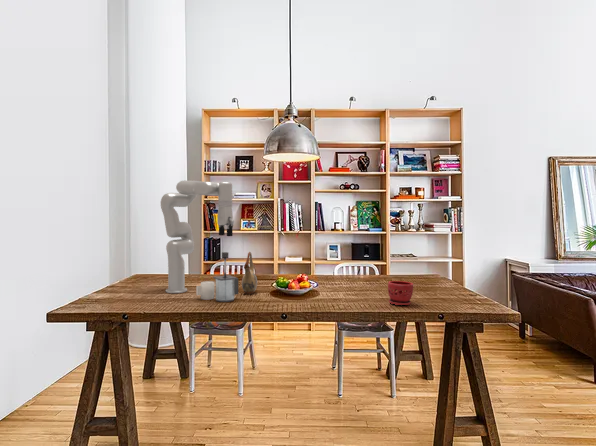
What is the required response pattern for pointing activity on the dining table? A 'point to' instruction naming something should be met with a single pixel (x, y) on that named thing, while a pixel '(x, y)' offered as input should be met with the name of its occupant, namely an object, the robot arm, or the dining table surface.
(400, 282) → the plant pot
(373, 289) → the dining table surface
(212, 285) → the mug
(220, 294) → the press carafe
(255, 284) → the ceramic vessel
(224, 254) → the plunger
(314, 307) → the dining table surface
